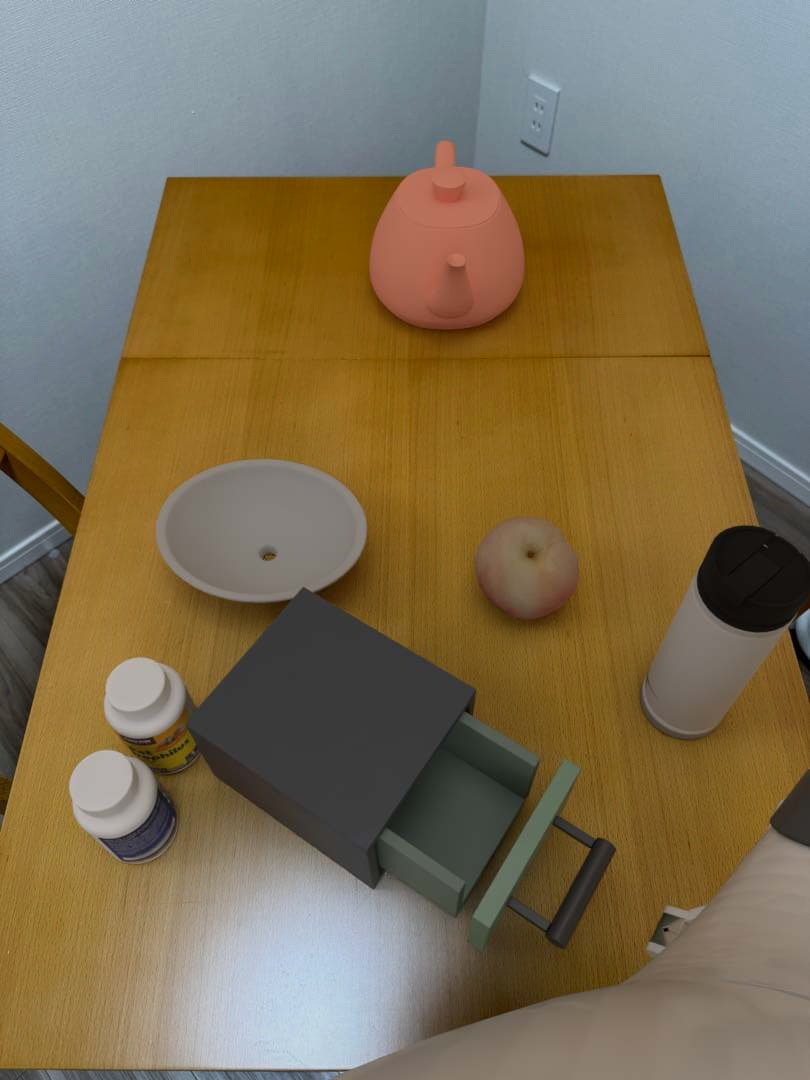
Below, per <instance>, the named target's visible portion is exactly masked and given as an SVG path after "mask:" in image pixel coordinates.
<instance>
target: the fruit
mask: <svg viewBox="0 0 810 1080" xmlns="http://www.w3.org/2000/svg"><path fill="white" fill-rule="evenodd" d="M474 573H475V576H476V577H475V578H476V580H477V582H478V585H479V588H480V590H481V591H482V593H483V595H484V596H485V597H486V599H487V600H488V601H489V602H490V603H491V604H493V605H494V606H496V608H499V610H501V611H502V612H504V613H505V614H506V615H508V616H509V617H512V618H515V619H518V620H524V621H529V620H537V619H539V618H540V619H541V618H542V617H545V616H548V615H550V614H552V613H553V612H556V611H557V610H559V609H561V608H562V607H563V606H564V605H565V604H566V602H568V600H570V599H571V597H572V596H573V594H574V592H575V590H576V589H577V586H578V583H579V575H580V563H579V557H578V555H577V553H576V551H575V549H574V547H572V546H571V545H570V544H569V543H568V541H567V540H566V538H565V535H564V533H562V531H561V530H560V528H558V527H557V525H555V524H553V523H552V522H550V521H548V520H546V519H545V518H544V519H543V518H541V517H536V516H515V517H511V518H507V519H505V520H503V521H501V522H500V523H498V524H497V525H495V526H493V528H492V529H490V530H489V531H488V532H487V533H486V534H485V535H484V537H483V538H482V540H481V542H480V544H479V545H478V547H477V551H476V553H475V556H474Z"/></svg>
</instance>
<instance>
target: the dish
mask: <svg viewBox="0 0 810 1080" xmlns="http://www.w3.org/2000/svg"><path fill="white" fill-rule="evenodd" d="M367 537H368V522H367V517H366V514H365V512H364V509H363V506H362V505H361V503H360V502H359V500H358V499H357V497H356V496H355V494H354V493H352V491H351V490H350V489H349V488H348V487H347V486H346V485H344V484H343V483H342V482H341V481H339V480H338V479H337V478H335V477H333V476H332V475H330V474H329V473H326V472H325V471H323V470H320V469H317V468H315V467H312V466H309V465H307V464H303V463H300V462H296V461H290V460H283V459H275V458H272V459H271V458H251V459H243V460H235V461H231V462H226V463H222V464H220V465H216V466H213V467H211V468H207V469H206V470H203V471H201V472H198V473H197V474H195V475H193V476H192V477H190V478H189V479H187V480H185V481H184V482H183V483H181V484H180V485H179V486H178V487H176V489H175V490H173V492H171V494H170V495H169V496H168V497H167V498H166V500H165V502H164V503H163V505H162V506H161V509H160V511H159V513H158V516H157V518H156V523H155V540H156V546H157V548H158V551H159V553H160V555H161V557H162V559H163V561H164V562H165V563H166V565H167V566H168V568H169V569H170V570H171V571H172V572H173V573H174V574H175V575H176V576H177V577H179V578H180V579H181V580H182V581H184V582H185V583H187V584H188V585H190V586H192V587H193V588H194V589H197V590H198V591H200V592H203V593H204V594H208V595H211V596H213V597H217V598H220V599H223V600H227V601H233V602H239V603H249V604H270V603H281V602H288V601H291V600H292V599H293V598H294V597H295V595H296V594H297V593H298V592H299V591H300V590H301V589H302V587H305V588H306V589H308V590H310V591H311V592H313V593H315V594H316V593H318V592H320V591H322V590H324V589H326V588H328V587H329V586H331V585H333V584H334V583H336V582H337V581H339V580H341V578H343V577H344V576H345V575H346V574H348V572H349V571H350V570H351V569H353V567H354V566H355V565H356V563H357V562H358V560H359V559H360V557H361V556H362V553H363V551H364V548H365V545H366V543H367ZM268 554H272V555H274V556H275V557H274V558H272V559H270V560H266V559H264V558H265V556H267V555H268Z"/></svg>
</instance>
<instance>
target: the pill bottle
mask: <svg viewBox="0 0 810 1080" xmlns="http://www.w3.org/2000/svg"><path fill="white" fill-rule="evenodd" d="M68 790H69V791H68V792H69V795H70V798H71V801H72V802H71V806H72V813H73V815H74V816H73V817H74V818H75V820H76V822H77V823H78V825H79V826H80V828H82V830H84V832H86V833H87V834H88V835H89V836H90V837H91V838H92V839H94V841H96V842H97V843H98V844H99V845H100V847H102V848H103V849H104V850H105V851H106V852H107V853H109V855H111V856H112V857H113V858H115V859H116V860H117V861H120V862H122V863H125V864H128V865H129V864H130V865H140V864H146V863H149V862H151V861H154V860H155V859H157V858H159V857H160V856H161V855H163V854H164V853H165V852H166V851H167V850H168V849H169V847H170V846H171V845H172V843H173V841H174V840H175V837H176V836H177V833H178V830H179V824H180V823H179V821H180V819H179V818H180V816H179V811H178V808H177V807H178V806H176V804H175V801H174V799H173V797H171V795H170V794H169V793H168V791H167V790H166V788H165V787H164V785H163V784H162V783H161V781H160V780H159V779H158V777H157V776H156V774H155V773H153V772H152V771H151V769H150V768H149V767H148V766H147V765H146V764H145V763H144V762H142V761H141V760H139V759H137V758H134V757H133V756H130V755H125V754H123V753H121V752H120V751H118V750H113V749H102V750H98V751H95V752H92V753H90V754H89V755H87V756H85V757H84V758H83V759H82V760H80V761H79V763H78V764H76V766H75V767H74V769H73V771H72V773H71V775H70V779H69V784H68Z"/></svg>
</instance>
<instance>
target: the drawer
mask: <svg viewBox="0 0 810 1080" xmlns="http://www.w3.org/2000/svg"><path fill="white" fill-rule="evenodd" d="M541 758H542V757H540V756H539V754H536V753H535V752H533V751H531V750H529V749H528V748H526V747H525V746H523V745H521V744H520V743H518V742H516V741H515V740H513V739H511V738H510V737H508V736H506V735H505V734H504V733H502V732H500V731H498V730H496V729H495V728H493V727H492V726H490V725H488V724H487V723H485V722H483V721H481V720H480V719H479V718H477V717H476V716H474V715H473V716H472V715H470V714H469V713H467V712H465V711H464V713H463V714H462V716H461V717H460V719H459V720H458V722H457V723H456V725H455V726H454V728H453V729H452V731H451V732H450V734H449V735H448V737H447V738H446V739H445V741H444V742H443V744H442V745H441V747H440V748H439V750H438V751H437V753H436V754H435V756H434V757H433V759H432V760H431V762H430V763H429V765H428V766H427V768H426V769H425V770H424V772H423V773H422V775H421V776H420V778H419V779H418V781H417V782H416V784H415V785H414V787H413V788H412V790H411V791H410V793H409V794H408V796H407V797H406V799H405V800H404V801H403V803H402V804H401V806H400V807H399V809H398V810H397V812H396V813H395V815H394V816H393V818H392V819H391V821H390V822H389V824H388V825H387V827H386V828H385V830H384V831H383V833H382V834H381V835H380V837H379V838H378V840H377V841H376V843H375V844H374V845H375V851H376V858H377V864H378V865H379V866H381V867H382V868H383V869H385V870H386V872H387V873H389V874H390V875H391V876H393V877H394V878H396V879H397V880H399V881H400V882H402V883H403V884H405V885H406V886H408V887H409V888H410V889H411V890H413V891H414V892H416V893H417V894H419V895H420V896H422V897H423V898H424V899H425V900H427V901H429V902H430V903H431V904H433V905H434V906H436V907H437V908H439V909H440V910H441V911H443V912H444V913H446V914H448V915H449V916H450V917H452V918H453V919H456V918H458V916H459V913H461V910H462V908H463V907H464V905H465V904H466V902H467V900H468V898H469V897H470V896H471V893H472V892H473V890H474V889H475V887H476V885H477V884H478V882H479V880H480V878H481V877H482V875H483V873H484V871H485V870H486V868H487V866H488V865H489V863H490V862H491V861H492V858H493V857H494V855H495V854H496V852H497V850H498V848H499V847H500V845H501V843H502V842H503V840H504V839H505V837H506V835H507V833H508V832H509V830H510V828H511V826H512V825H513V823H514V821H515V820H516V818H517V817H518V814H519V813H520V812H521V810H522V808H523V806H524V805H525V803H526V801H527V800H528V798H529V796H530V794H531V791H532V787H533V785H534V781H535V778H536V775H537V772H538V768H539V765H540V762H541ZM581 770H582V768H581V767H580V766H578V765H577V764H575V763H573V762H572V761H570V760H568V759H567V758H563V760H562V762H561V764H560V765H559V768H558V769H557V771H556V772H555V774H554V776H553V777H552V780H551V781H550V782H549V784H548V786H547V787H546V789H545V791H544V793H543V794H542V796H541V798H540V800H538V803H537V805H536V807H535V808H534V810H533V812H532V813H531V815H530V816H529V819H528V820H527V822H526V824H525V825H524V827H523V829H522V830H521V832H520V834H519V836H518V837H517V839H516V840H515V842H514V844H513V845H512V847H511V849H510V851H509V852H508V854H507V856H506V857H505V859H504V861H503V862H502V864H501V866H500V867H499V870H498V872H496V874H495V876H494V878H493V879H492V880H491V881H492V882H490V885H489V886H488V888H487V890H486V892H485V893H484V895H483V897H482V898H481V900H480V901H479V903H478V905H477V907H476V909H475V910H474V912H473V914H472V916H471V920H470V925H469V929H468V934H467V938H466V943H468V945H470V946H472V947H473V948H475V949H476V950H477V951H478V952H480V953H483V952H484V951H485V949H486V947H487V945H488V943H489V941H490V940H491V938H492V936H493V935H494V933H495V931H496V929H497V928H498V926H499V924H500V922H501V920H502V918H503V917H504V915H505V914H506V912H507V910H508V909H509V910H511V911H512V912H514V913H515V914H516V915H519V917H521V918H523V919H524V920H526V921H527V922H529V923H530V924H531V925H533V926H534V927H536V928H537V929H538V930H541V931H542V932H543V933H545V934H544V937H545V939H546V940H547V941H548V942H550V943H551V944H552V945H554V946H555V947H557V948H558V949H561V950H566V948H567V946H568V944H569V942H570V941H571V939H572V937H573V935H574V933H575V931H576V929H577V927H578V925H579V924H580V922H581V919H582V918H583V916H584V913H585V912H586V910H587V907H588V906H589V904H590V902H591V900H592V898H593V897H594V895H595V893H596V891H597V889H598V887H599V885H600V883H601V881H602V880H603V878H604V875H605V873H606V871H607V870H608V867H609V865H610V864H611V862H612V860H613V858H614V856H615V854H616V853H617V847H616V846H615V845H614V844H613V843H612V842H611V841H609V840H607V839H606V838H603V837H599V836H598V837H596V838H595V837H593V836H592V835H590V834H589V833H586V832H585V831H584V830H582V829H580V828H579V827H577V826H576V825H574V824H572V823H571V822H569V821H568V820H566V819H564V818H562V817H561V815H562V813H563V811H564V809H565V808H566V805H567V803H568V801H569V799H570V796H571V794H572V791H573V790H574V786H575V784H576V782H577V779H578V777H579V775H580V773H581ZM554 827H555V828H556V829H558V830H559V831H561V832H562V833H563V834H566V835H567V836H569V837H570V838H572V839H573V840H575V841H576V842H578V843H580V844H581V845H583V846H584V847H586V848H587V849H589V852H588V853H587V855H586V857H585V859H584V861H583V863H582V864H581V866H580V868H579V870H578V872H577V874H576V876H575V877H574V879H573V881H572V883H571V884H570V887H569V889H568V891H567V892H566V894H565V896H564V898H563V899H562V901H561V903H560V905H559V907H558V909H557V911H556V913H555V915H554V917H553V918H552V921H550V920H548V919H547V918H545V917H544V916H542V915H541V914H539V913H537V912H536V911H535V910H533V909H531V908H530V907H528V906H527V905H526V904H524V903H523V902H522V901H519V899H517V898H515V896H516V894H517V893H518V890H519V889H520V887H521V885H522V884H523V882H524V880H525V879H526V876H527V875H528V873H529V871H530V869H531V867H532V865H533V864H534V862H535V861H536V859H537V857H538V855H539V854H540V852H541V851H542V848H543V846H544V845H545V843H546V841H547V839H548V838H549V836H550V834H551V832H552V831H553V829H554Z"/></svg>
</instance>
